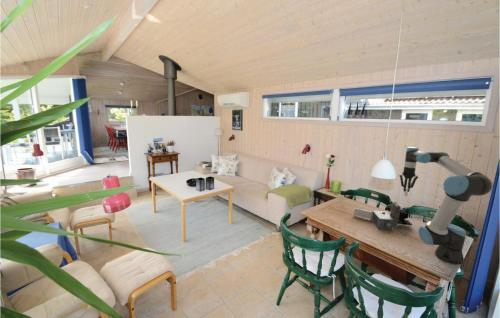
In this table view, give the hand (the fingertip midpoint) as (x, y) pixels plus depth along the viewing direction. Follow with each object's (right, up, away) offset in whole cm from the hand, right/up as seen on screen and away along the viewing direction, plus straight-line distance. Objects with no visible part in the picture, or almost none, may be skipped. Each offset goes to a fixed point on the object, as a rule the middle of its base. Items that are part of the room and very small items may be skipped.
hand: (405, 195), depth 190 cm
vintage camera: (+6, -29, +17) cm, 34 cm away
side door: (-20, -25, +30) cm, 44 cm away
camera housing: (-9, -29, +17) cm, 35 cm away
